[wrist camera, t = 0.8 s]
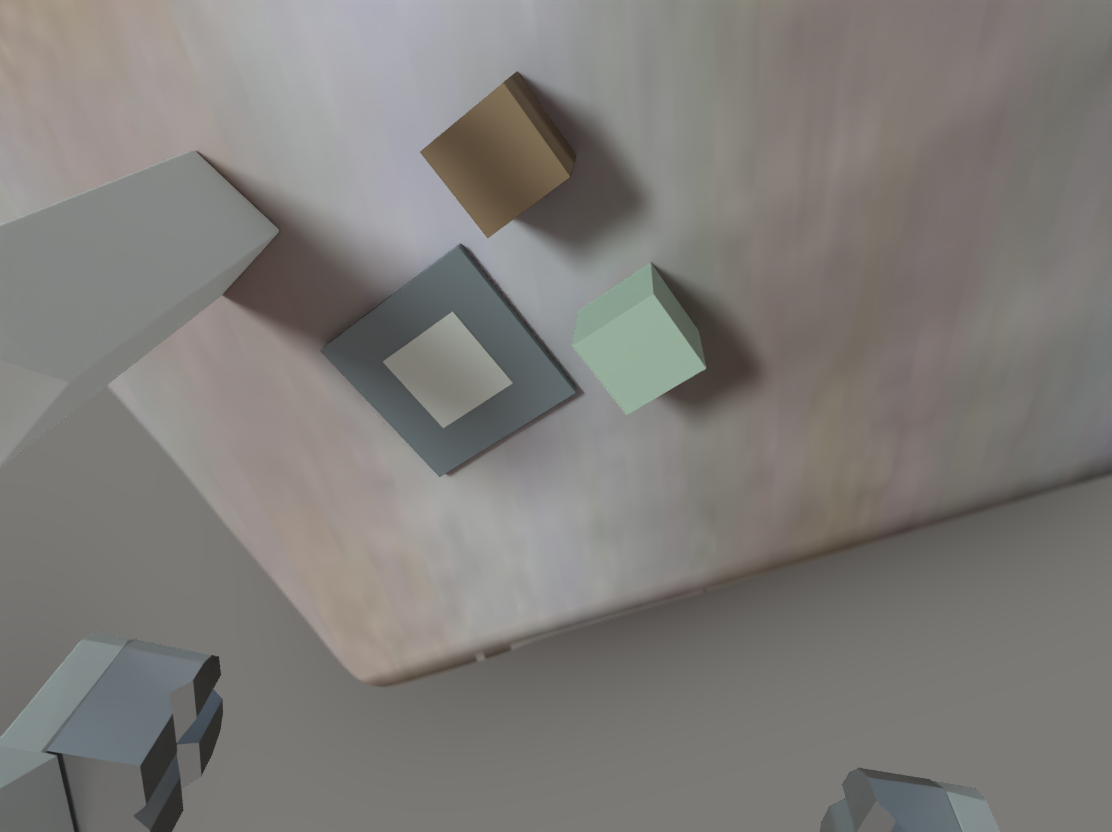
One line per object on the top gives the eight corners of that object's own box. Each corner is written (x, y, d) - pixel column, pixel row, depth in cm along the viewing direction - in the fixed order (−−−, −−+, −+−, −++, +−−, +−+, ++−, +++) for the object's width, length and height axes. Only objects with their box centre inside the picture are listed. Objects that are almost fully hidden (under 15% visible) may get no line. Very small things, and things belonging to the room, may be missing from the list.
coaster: (460, 243, 42) (457, 247, 42) (576, 388, 46) (575, 393, 46) (323, 346, 46) (319, 351, 46) (441, 472, 50) (439, 478, 50)
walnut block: (517, 71, 38) (503, 82, 34) (576, 155, 40) (570, 176, 35) (442, 133, 40) (420, 152, 35) (502, 211, 42) (487, 238, 37)
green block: (650, 261, 42) (653, 293, 38) (698, 330, 44) (706, 368, 40) (577, 310, 44) (572, 346, 40) (626, 374, 46) (626, 415, 41)
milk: (281, 230, 43) (12, 431, 24) (221, 296, 45) (-69, 528, 26) (191, 146, 41) (-181, 292, 22) (133, 220, 43) (-249, 410, 24)
